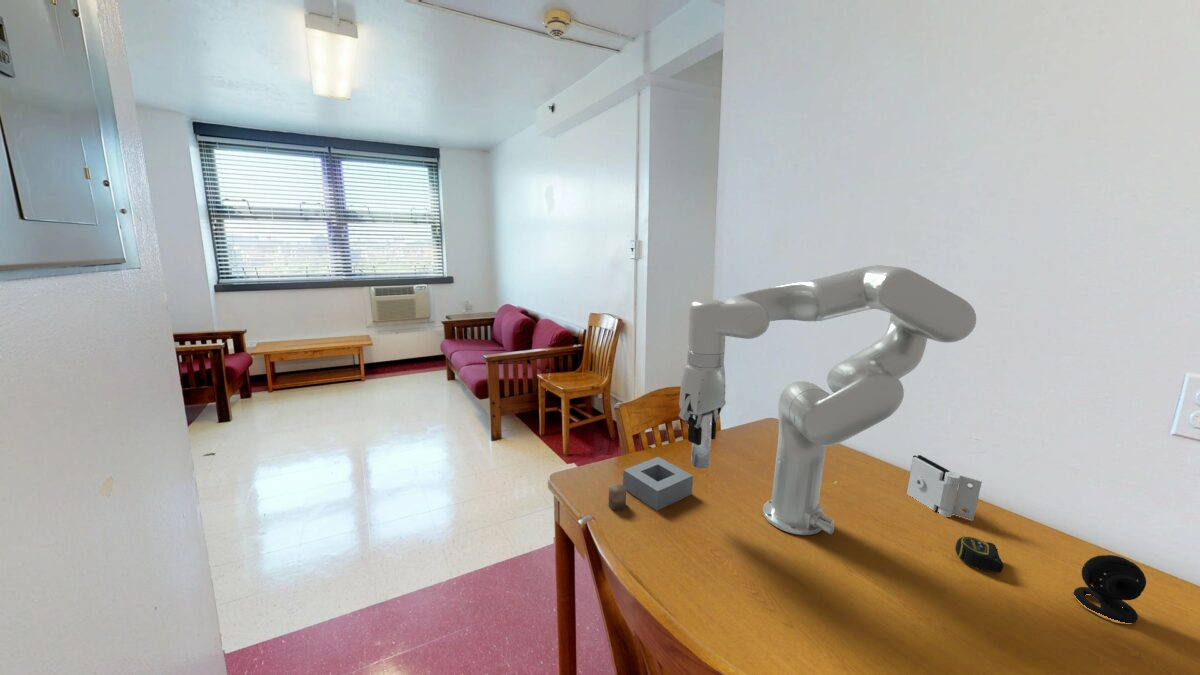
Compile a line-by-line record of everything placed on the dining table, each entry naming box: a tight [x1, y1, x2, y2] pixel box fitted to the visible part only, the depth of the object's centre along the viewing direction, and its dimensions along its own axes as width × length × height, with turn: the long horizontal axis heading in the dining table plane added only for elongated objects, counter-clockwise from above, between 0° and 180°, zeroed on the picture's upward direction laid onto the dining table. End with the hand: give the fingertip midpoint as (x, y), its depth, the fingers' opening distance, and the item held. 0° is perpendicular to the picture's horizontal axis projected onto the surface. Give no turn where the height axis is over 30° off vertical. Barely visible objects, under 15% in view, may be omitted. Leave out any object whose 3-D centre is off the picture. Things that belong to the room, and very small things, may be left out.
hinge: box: [906, 454, 983, 521], centre depth 106 cm, size 14×5×10 cm, turn 23°
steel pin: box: [690, 411, 712, 469], centre depth 99 cm, size 4×4×12 cm
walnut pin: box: [608, 483, 627, 512], centre depth 105 cm, size 4×4×4 cm
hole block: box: [622, 456, 694, 511], centre depth 111 cm, size 12×12×5 cm
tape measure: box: [954, 536, 1004, 574], centre depth 89 cm, size 7×7×4 cm
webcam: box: [1073, 554, 1147, 624], centre depth 77 cm, size 8×8×10 cm
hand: (701, 439), depth 99 cm, fingers closed on steel pin, 4 cm apart
